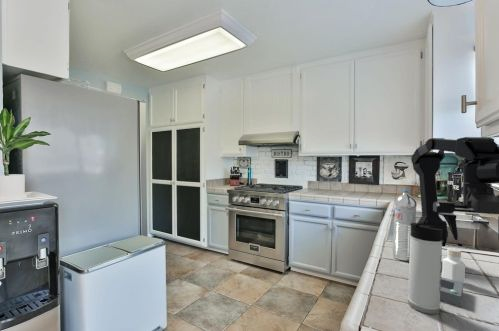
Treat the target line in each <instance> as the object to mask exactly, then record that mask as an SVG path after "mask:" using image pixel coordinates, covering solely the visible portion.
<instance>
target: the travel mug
mask: <svg viewBox="0 0 499 331" xmlns="http://www.w3.org/2000/svg"><path fill="white" fill-rule="evenodd" d="M410 226H411V235H410V237H411V238H410V258H409V261H408V262H409V264H408V268H409V269H408V288H407V295H408V296H407V304H408V305H409V307H411V308H412V309H414V310H416V311H418V312H420V313H423V314H428V315H437V314H438V313H440V307H441V306H440V304H441V301H440V285H441V277H442V260H443V259H442V258H443V257H442V256H443V255H442V254H443V251H442V250H443V246H442V229H437V228H434V227H433V226H429V225H424V224H418V222H416V223H411V224H410Z"/></svg>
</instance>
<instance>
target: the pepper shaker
mask: <svg viewBox="0 0 499 331" xmlns="http://www.w3.org/2000/svg"><path fill="white" fill-rule="evenodd" d="M446 249H447V251H446V252H447V253H446V255H447V256H446V258H445V257H444V258H443V259H442V263H441V277H443V278H447V279H451V280H454V281H458V282H462V283H463V285H464V283H465V276H466V273H465V271H466V263H465V262H464V261H462V260H461V258H462V250H460V249H458V248H453V247H448V248H446Z"/></svg>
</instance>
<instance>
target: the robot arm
mask: <svg viewBox="0 0 499 331" xmlns="http://www.w3.org/2000/svg"><path fill="white" fill-rule="evenodd" d="M436 151H438V152H436ZM445 152H448V153H449V152H450V153H454V155H455V156H457V157H460V158H462V159H463V161H461V162H459V164H458V168H462V193H463V195H462V196H463V197H462V199H463V201H462V205H461V204H455V202H450V201H438V191H437V190H438V189H437V178H436V175H437V173H438V172H439V170H440V168H441V163H442V161H443V160H444V159H445V158H446V156H445V155H446V154H445ZM410 160H411V164H412V167H413V168H412V169H413V171H414V172H415V173H416V174H417V176H418V181H419V191H420V192H419V193H420V203H421V204H420V205H421V217H419V219H418V221H417V223H418V224H424V225H429V226H433V227H434V228H437V229H442V247H445V246H446V245H447V244H446V243H447V241H448V238H449V232H448V231H449V230H448V227H449V229H450V231H451V234H452V236H453V239H454V240H455V241H458V238H459V236H458V235H459V234H458V227H457V214H455V212H458V213H459V212H461V213H474V214H475V213H476V214H486V215H487V214H490V215H499V194H498V195H496V194H495V193H494V192H495V191H494V187H492V184H499V145H498V144H497V142H496V141H495V139H494V138H493V137H489V136H488V137H487V136H485V137H481V136H480V137H478V136H475V137H474V136H464V137H460V138H457V139H452V138H451V139H450V138H447V139H446V138H443V137H431V138H429V139H427V140H426V142H425V143H424V144H422V145H421V146H419V147H418V148H416V149H415V151H414V153H413V154H412V155H411V157H410ZM440 216H442V217H443V218H444V219H445V220H443V219H442V218H441V217H440ZM497 220H498V221H497V222H498V223H497V225H498V227H497V236H498V237H497V238H498V241H499V216H498V219H497Z"/></svg>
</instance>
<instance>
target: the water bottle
mask: <svg viewBox="0 0 499 331" xmlns="http://www.w3.org/2000/svg"><path fill="white" fill-rule="evenodd" d="M409 192H410V190H409V189H402V194H400V195H398V196H397V197H396V198H395V200H394V220H393V235H392V236H393V237H392V238H393V241H392V256H393V258H394V259H396V260H399V261H402V262H409V258H410V238H411V237H410V235H411V226H410V224H411V223H417V222H416V220H417V216H416V215H417V204H418V202H417V201H416V199H415V198H414V197H413V196H412V195H411V194H409Z"/></svg>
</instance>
